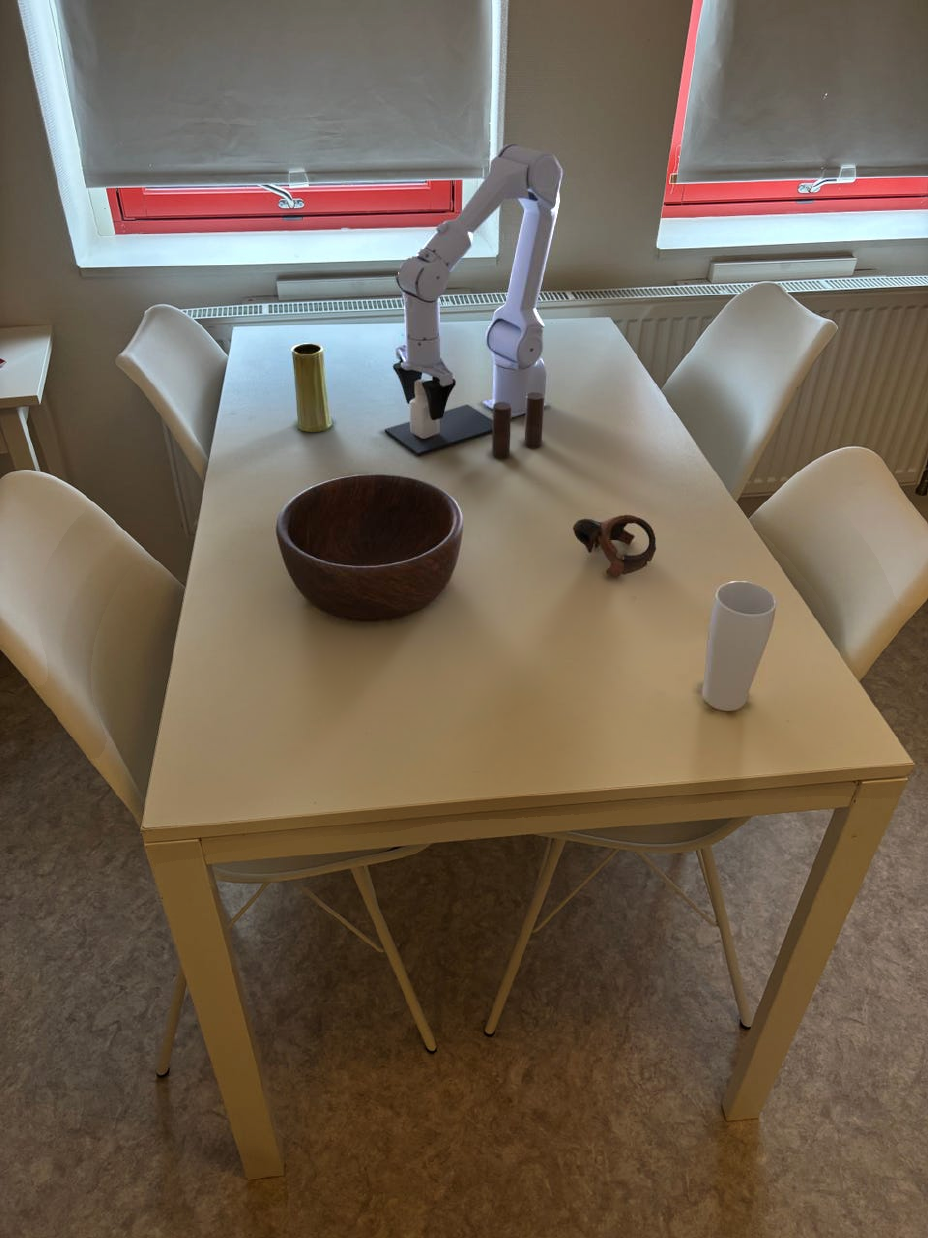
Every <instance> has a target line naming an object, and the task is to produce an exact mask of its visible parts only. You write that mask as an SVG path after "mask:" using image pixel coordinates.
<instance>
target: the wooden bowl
mask: <svg viewBox="0 0 928 1238" xmlns="http://www.w3.org/2000/svg"><path fill="white" fill-rule="evenodd" d="M463 533H464V515H463V513H462V510H461V508H460V506H459V504H458V503H457V501H456V500H455V498H454V497H452V495H450V494H449V493H448V492H446V491H445V490H443V488H440V487H438V486H436V485H434V484H432V483H429V482H426V481H424V480H421V479H417V478H414V477H410V476H404V475H398V474H392V473H391V474H390V473H389V474H388V473H364V474H363V473H362V474H353V475H347V476H346V475H345V476H341V477H337V478H333V479H330V480H326V481H323V482H320V483H318V484H315V485H313V486H311V487H308V488H307V489H305V490H303V491H301V492H300V493H298V494H296V495H295V496H294V497H292V499H290V500H289V501H288V502H287V503H286V504H285V505H284V506H283V508H282V509H281V511H280V512H279V514H278V516H277V519H276V525H275V534H276V539H277V543H278V547H279V550H280V553H281V557H282V560H283V563H284V565H285V568H286V571H287V573H288V575H289V577H290V579H291V580H292V582H293V584H294V585H295V588H296V589H297V590H298V591H299V593H300V594H301V595H302V596H303V597H304V598H305V599H306V600H307V601H308V602H309V603H310V604H311V605H313V606H314V607H315V608H317V609H319V610H321V611H322V612H324V613H327V614H329V615H332V616H335V617H338V618H341V619H346V620H351V621H357V622H359V621H360V622H378V621H386V620H387V621H388V620H393V619H394V620H395V619H397V618H401V617H405V616H408V615H411V614H413V613H415V612H417V611H419V610H421V609H423V608H425V607H426V606H428V605H430V604H431V603H432V602H433V601H435V600H436V598H437V597H438V596H439V595H440V594H441V593H442V591H443V590H445V588H446V586H447V584H448V583H449V581H450V580H451V578H452V576H453V573H454V570H455V568H456V566H457V564H458V559H459V555H460V550H461V545H462V539H463Z"/></svg>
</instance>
